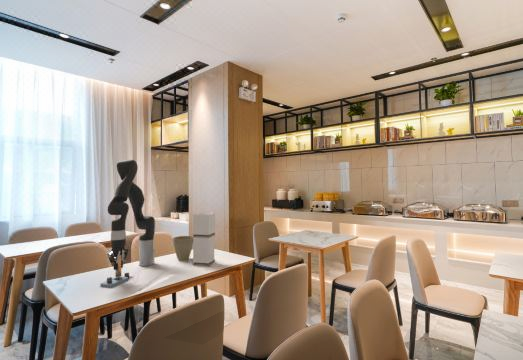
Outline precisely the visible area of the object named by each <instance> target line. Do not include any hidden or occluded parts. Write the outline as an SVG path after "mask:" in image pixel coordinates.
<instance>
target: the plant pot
mask: <svg viewBox="0 0 523 360" xmlns="http://www.w3.org/2000/svg"><path fill="white" fill-rule="evenodd" d="M172 242H173V248H174V252H175V255H176V258H177V260H178V261H181V262H182V261H188V260H189V258H190V255H191V253H192V251H193V235H192V236H190V235H179V236H175V237H172Z"/></svg>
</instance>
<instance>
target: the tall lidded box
mask: <svg viewBox="0 0 523 360" xmlns="http://www.w3.org/2000/svg"><path fill="white" fill-rule="evenodd" d="M192 237H193V245H192V261H193V262H192V265H193V266H197V267H198V266H199V267H210V266H212V265H213V264H215V263H216V259H215V237H216V213H215V212H199V213H194V214H192Z"/></svg>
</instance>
